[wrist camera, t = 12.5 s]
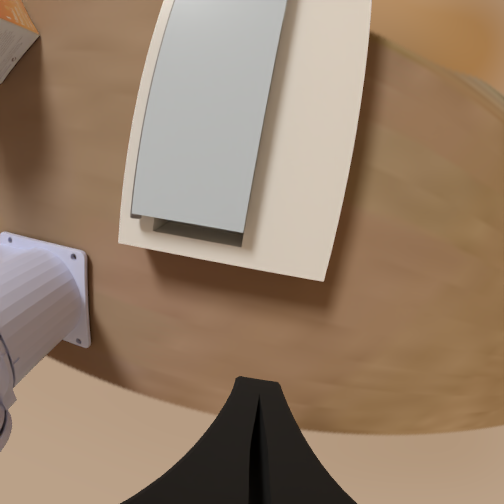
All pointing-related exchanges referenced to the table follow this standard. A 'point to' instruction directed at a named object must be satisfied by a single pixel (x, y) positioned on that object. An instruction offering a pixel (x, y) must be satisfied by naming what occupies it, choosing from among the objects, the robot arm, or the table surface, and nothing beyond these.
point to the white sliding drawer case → (279, 148)
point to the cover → (207, 112)
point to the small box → (14, 34)
